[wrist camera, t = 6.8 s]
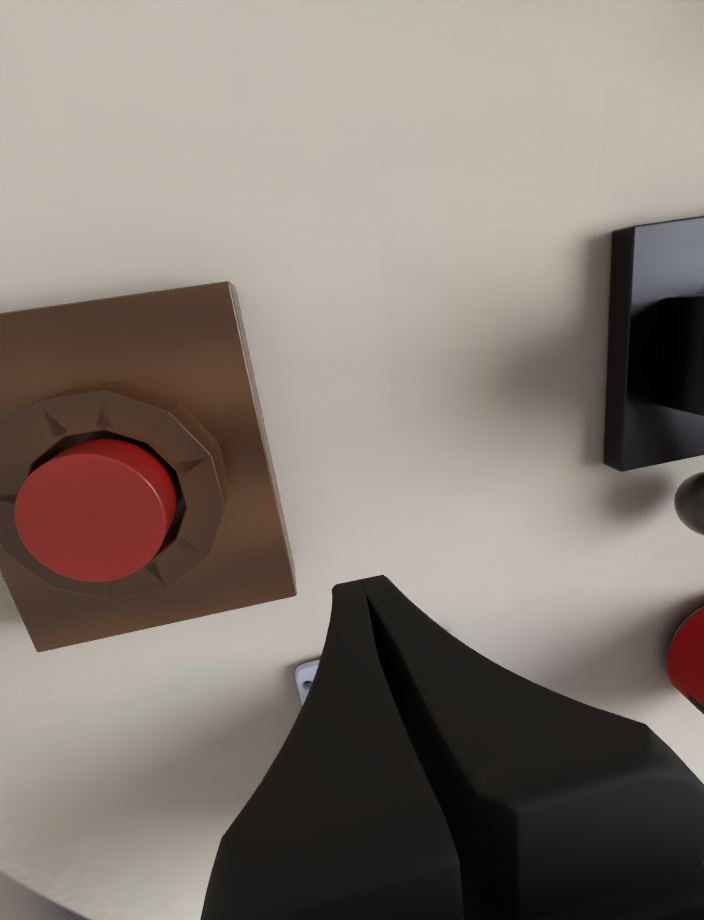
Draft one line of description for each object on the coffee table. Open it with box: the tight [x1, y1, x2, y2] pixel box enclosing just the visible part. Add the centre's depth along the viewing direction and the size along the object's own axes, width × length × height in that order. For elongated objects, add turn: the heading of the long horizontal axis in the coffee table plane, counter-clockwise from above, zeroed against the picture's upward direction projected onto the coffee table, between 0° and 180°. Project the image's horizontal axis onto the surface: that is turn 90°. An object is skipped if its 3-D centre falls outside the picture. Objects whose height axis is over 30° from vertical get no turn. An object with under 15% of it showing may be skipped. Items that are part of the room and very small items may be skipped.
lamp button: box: [14, 439, 177, 582], centre depth 14 cm, size 4×4×2 cm
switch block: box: [0, 281, 297, 652], centre depth 16 cm, size 12×10×4 cm
